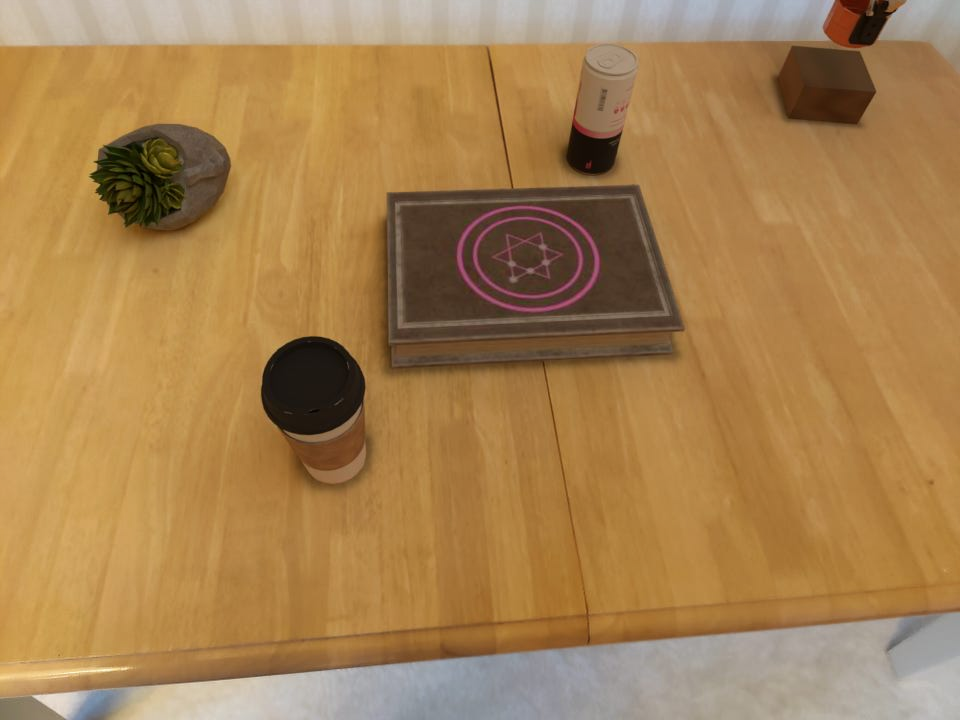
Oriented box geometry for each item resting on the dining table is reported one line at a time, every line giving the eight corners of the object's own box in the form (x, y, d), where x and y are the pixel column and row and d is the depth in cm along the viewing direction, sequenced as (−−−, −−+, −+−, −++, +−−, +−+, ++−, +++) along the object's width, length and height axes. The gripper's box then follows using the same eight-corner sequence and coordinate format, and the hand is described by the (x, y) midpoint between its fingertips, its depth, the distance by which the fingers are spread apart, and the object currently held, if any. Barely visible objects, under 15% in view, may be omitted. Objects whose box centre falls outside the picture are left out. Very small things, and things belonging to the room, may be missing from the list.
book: (391, 369, 71) (388, 342, 67) (389, 220, 83) (386, 189, 79) (672, 355, 73) (685, 327, 69) (629, 211, 85) (638, 181, 81)
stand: (842, 84, 103) (860, 50, 98) (856, 125, 97) (876, 91, 93) (776, 79, 103) (791, 45, 98) (787, 119, 97) (804, 85, 93)
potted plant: (257, 170, 82) (192, 228, 71) (196, 217, 89) (128, 276, 77) (182, 84, 77) (100, 131, 66) (124, 140, 84) (40, 192, 72)
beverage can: (556, 160, 91) (572, 56, 78) (586, 138, 93) (607, 35, 81) (593, 184, 88) (616, 81, 76) (623, 161, 91) (651, 59, 78)
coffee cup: (297, 506, 62) (258, 430, 50) (287, 428, 66) (249, 340, 54) (386, 485, 63) (370, 405, 51) (370, 410, 68) (352, 320, 56)
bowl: (867, 24, 94) (885, -9, 90) (880, 53, 90) (899, 20, 86) (816, 19, 94) (831, -13, 90) (826, 48, 90) (843, 15, 86)
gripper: (990, -87, 71) (897, 66, 86) (941, -152, 81) (865, -4, 95) (919, -93, 71) (838, 61, 86) (879, -157, 81) (813, -9, 96)
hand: (853, 26), depth 90 cm, fingers closed on bowl, 7 cm apart
